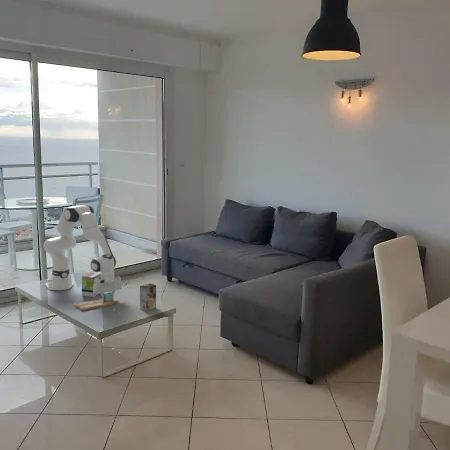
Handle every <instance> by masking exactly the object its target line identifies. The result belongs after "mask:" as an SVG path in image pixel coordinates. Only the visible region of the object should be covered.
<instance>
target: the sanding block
mask: <svg viewBox="0 0 450 450" xmlns="http://www.w3.org/2000/svg"><path fill="white" fill-rule="evenodd" d="M103 295H104V296H105V299H102V300H104V301H106V302H108V301H113V298H114V294H113V293H112V291H110V292H105V293H104V294H103Z"/></svg>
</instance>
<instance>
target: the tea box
mask: <svg viewBox="0 0 450 450" xmlns="http://www.w3.org/2000/svg"><path fill="white" fill-rule="evenodd" d="M99 276H101V272H95V271H93V270H92V271H89V272H88V273H85V274H83V275H82V276H81V296H82V297H90V298H95V297H96V296H97V295H99V294H95V293H94V292H93V285H94V283H95V282H94V279H95V278H97V277H99Z"/></svg>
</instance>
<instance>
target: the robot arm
mask: <svg viewBox="0 0 450 450" xmlns="http://www.w3.org/2000/svg"><path fill="white" fill-rule="evenodd" d="M77 222H79V223H80V225H81V229H82V234H83V236H84V238H85V239H86V240H87V241H89V242H93V243H97V244H98V245H99V246H100V248H101V250H102V253H103V254H102V255H101V256H99V257H96V258H93V259H92V260H91V262H90V268H91V270H92V271H95V272H101V276H99V277H97V278H95V279H94V282H95V283H94V285H93V292H94V293H95V294H98V295H100V296H101V298H102V299H105V296H104V295H103V294H104V293H105V292H111V293H113V295H115V293H116V291H119V290H121V289H122V286H123V285H122V277H121V276H119V275H118V276H115V267H116V265H117V260H116V258H115V256H114V254H113V252H112V249H111V247H110V244H109V241H108V239H107V237H106V236H105V234H104V233H103V232H102V231H101V229H100V227H99V223H98V219H97V217H96V215H95V210H94V208H93V207H92V206H91V205H88V204H85V205H84V204H83V205H79V204H78V205H73V206H68V207H66V208H64V209H63V211H62V213H61V215H60V218H59V221H58V223H57V227H56V230H57V233H59V236H56V237H51V238H48V239H46V240H45V241H44V243H43V249H44V251H45V252H46V253H48V254H49V256H50V257H51V260H52V261H51V262H52V269H51V274H50V276H49V277H48V279H47V280H46V281H47V282H46V283H45V287H46V288H47V289H48V291H66V290H69V289H71V288H72V287H73V286H74V283H73V281H72V274H70V272H71V271H70V267H69V266H70V265H69V264H70V263H69V262H70V261H69V258H68V257H67V256H65V255H64V253H63V252H65V251H70V250H71V249H72V250H73V248H76V245H77V240H76V237H75V236H74V235H73V232H74V228H75V225H76V223H77Z"/></svg>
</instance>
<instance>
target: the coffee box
mask: <svg viewBox="0 0 450 450" xmlns="http://www.w3.org/2000/svg"><path fill="white" fill-rule="evenodd" d="M156 308H157V284H153V283H146V284H143V285H140V286H139V309H140V310H142V311H144V312H149V311H151V310H153V309H156Z"/></svg>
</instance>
